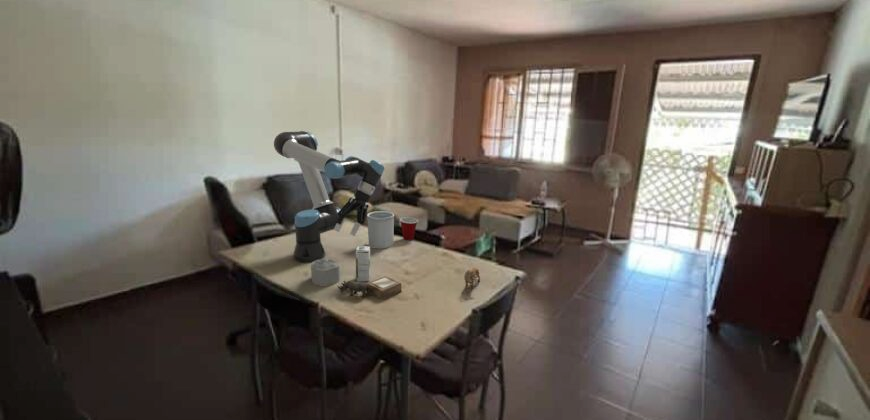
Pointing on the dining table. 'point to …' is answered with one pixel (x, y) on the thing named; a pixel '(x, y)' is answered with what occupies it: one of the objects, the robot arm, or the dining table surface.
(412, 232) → the plastic cup
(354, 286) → the rhino figurine
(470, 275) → the lion figurine
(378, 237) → the utensil holder
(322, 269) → the lumpy-topped squat cylinder
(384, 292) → the walnut plinth
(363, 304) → the dining table surface
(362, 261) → the syrup box
